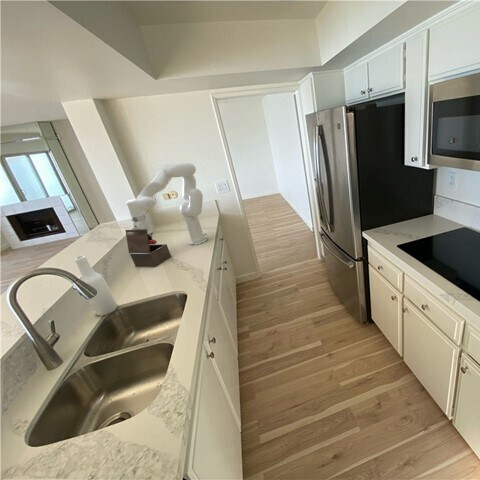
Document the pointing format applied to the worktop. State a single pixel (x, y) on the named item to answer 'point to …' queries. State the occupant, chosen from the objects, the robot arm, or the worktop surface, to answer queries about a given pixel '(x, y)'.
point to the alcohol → (97, 288)
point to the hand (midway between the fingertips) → (149, 243)
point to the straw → (152, 241)
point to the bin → (151, 256)
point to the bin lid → (138, 241)
